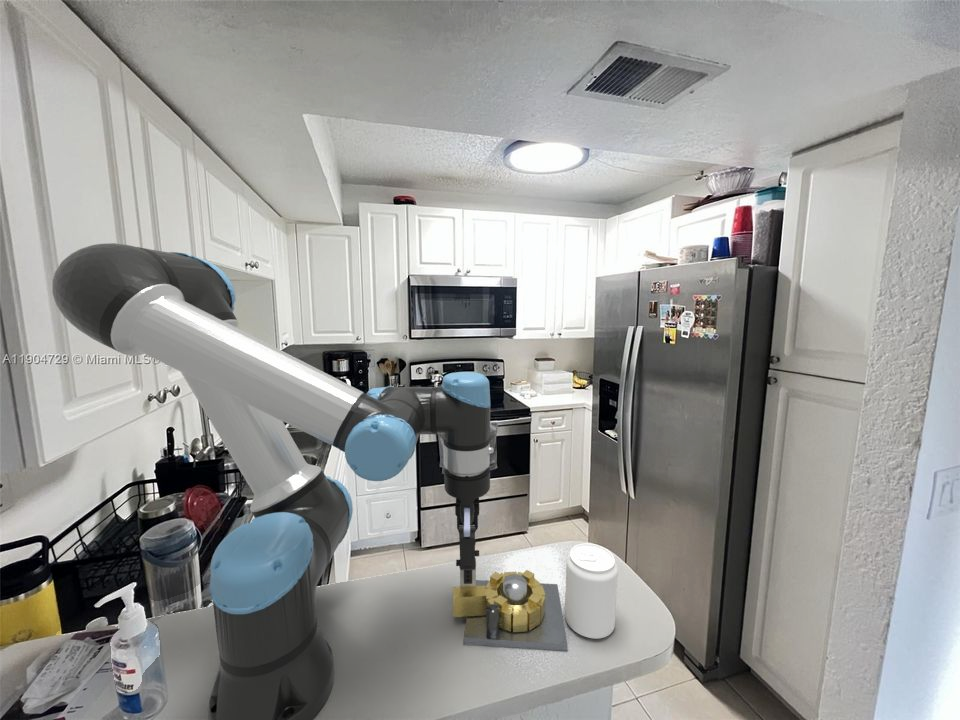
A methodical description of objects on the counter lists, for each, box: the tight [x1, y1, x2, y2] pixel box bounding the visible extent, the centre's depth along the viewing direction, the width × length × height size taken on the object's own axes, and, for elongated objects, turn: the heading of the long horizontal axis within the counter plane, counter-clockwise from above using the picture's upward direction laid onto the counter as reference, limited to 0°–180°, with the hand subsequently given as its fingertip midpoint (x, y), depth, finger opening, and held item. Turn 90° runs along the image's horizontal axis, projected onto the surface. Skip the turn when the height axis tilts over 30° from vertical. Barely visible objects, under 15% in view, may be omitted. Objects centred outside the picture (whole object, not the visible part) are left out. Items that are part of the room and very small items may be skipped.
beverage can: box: [564, 542, 619, 640], centre depth 65 cm, size 8×8×12 cm
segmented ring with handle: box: [452, 569, 545, 632], centre depth 67 cm, size 16×10×4 cm, turn 95°
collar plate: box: [463, 573, 568, 652], centre depth 67 cm, size 16×13×6 cm
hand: (468, 594), depth 68 cm, fingers closed
